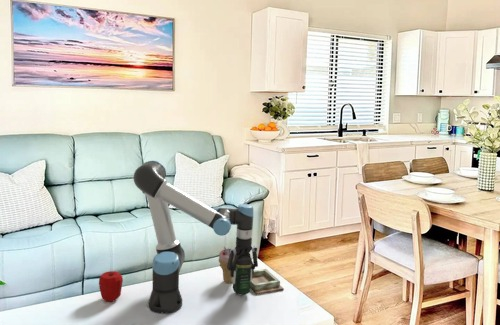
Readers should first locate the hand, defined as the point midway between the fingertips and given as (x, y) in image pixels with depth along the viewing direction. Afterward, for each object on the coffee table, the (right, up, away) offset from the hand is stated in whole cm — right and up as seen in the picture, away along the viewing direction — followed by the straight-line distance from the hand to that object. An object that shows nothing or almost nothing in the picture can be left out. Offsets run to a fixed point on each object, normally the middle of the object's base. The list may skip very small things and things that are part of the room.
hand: (241, 281), depth 207 cm
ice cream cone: (-7, -4, +15) cm, 17 cm away
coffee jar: (0, -5, +1) cm, 5 cm away
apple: (-60, -6, -9) cm, 61 cm away
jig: (+9, -5, +14) cm, 18 cm away
